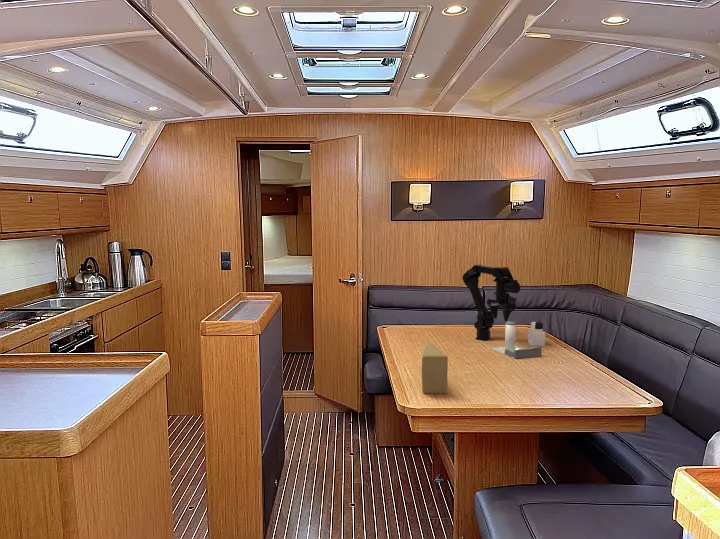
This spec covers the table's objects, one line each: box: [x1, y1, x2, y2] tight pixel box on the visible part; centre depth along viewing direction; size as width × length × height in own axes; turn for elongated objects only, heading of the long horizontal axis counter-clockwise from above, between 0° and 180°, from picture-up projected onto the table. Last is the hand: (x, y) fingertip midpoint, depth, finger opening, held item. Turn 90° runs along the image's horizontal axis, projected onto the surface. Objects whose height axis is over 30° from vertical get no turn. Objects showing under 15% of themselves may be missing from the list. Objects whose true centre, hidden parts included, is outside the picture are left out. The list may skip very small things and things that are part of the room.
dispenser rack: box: [504, 346, 543, 360], centre depth 238 cm, size 8×15×5 cm, turn 109°
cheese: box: [421, 341, 449, 394], centre depth 195 cm, size 22×10×15 cm, turn 179°
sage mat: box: [490, 345, 522, 355], centre depth 248 cm, size 11×15×1 cm
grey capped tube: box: [504, 320, 517, 351], centre depth 247 cm, size 5×5×14 cm
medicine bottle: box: [527, 321, 546, 347], centre depth 259 cm, size 7×7×12 cm
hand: (500, 320), depth 258 cm, fingers open, 9 cm apart
